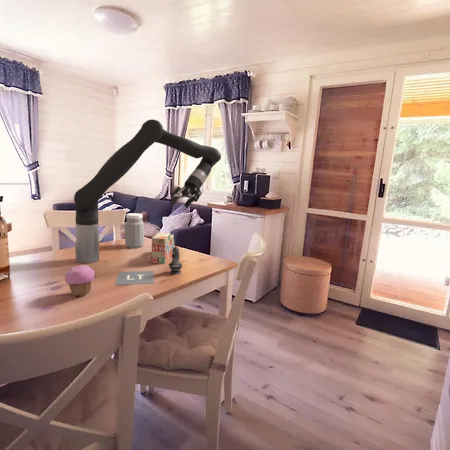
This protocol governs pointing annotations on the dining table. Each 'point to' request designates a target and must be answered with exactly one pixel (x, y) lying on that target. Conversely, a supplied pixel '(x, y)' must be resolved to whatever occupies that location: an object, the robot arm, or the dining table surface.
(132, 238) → the jar
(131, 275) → the mat
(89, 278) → the cupcake
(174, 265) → the grey chess piece
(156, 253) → the stack of blocks
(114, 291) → the dining table surface
